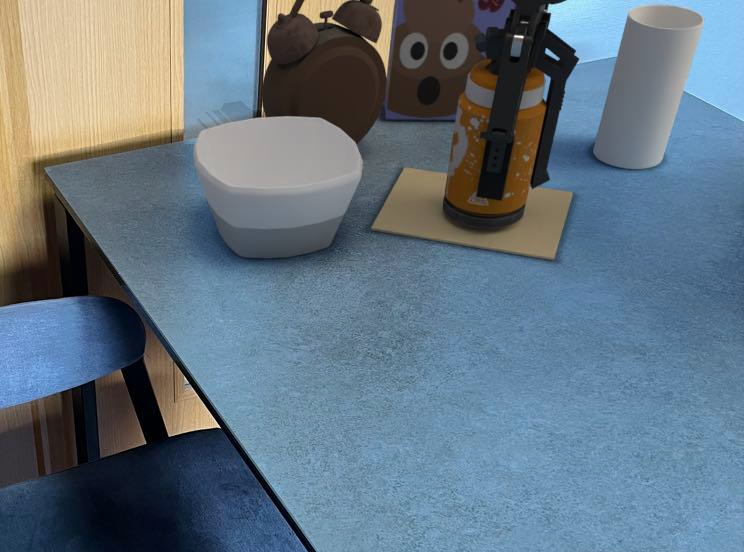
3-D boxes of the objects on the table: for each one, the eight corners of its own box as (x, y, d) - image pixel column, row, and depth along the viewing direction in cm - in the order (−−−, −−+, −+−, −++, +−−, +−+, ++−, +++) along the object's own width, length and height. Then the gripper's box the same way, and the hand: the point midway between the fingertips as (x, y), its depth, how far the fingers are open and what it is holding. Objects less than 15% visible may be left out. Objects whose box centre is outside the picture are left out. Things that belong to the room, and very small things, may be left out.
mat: (572, 194, 120) (573, 192, 120) (553, 260, 110) (554, 258, 109) (404, 169, 126) (404, 167, 125) (370, 230, 115) (370, 227, 115)
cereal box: (385, 120, 136) (408, -87, 119) (383, 106, 139) (404, -98, 122) (519, 121, 135) (561, -87, 118) (514, 107, 138) (554, -98, 121)
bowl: (181, 204, 120) (178, 124, 113) (327, 187, 122) (333, 108, 116) (213, 282, 108) (212, 198, 101) (375, 262, 110) (385, 178, 103)
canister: (439, 195, 120) (466, 11, 106) (536, 198, 119) (577, 12, 105) (443, 233, 114) (473, 42, 100) (546, 236, 113) (590, 44, 99)
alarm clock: (353, 134, 133) (367, -37, 119) (383, 156, 128) (401, -20, 114) (252, 156, 129) (255, -18, 115) (279, 180, 124) (285, 1, 110)
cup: (653, 174, 123) (696, 33, 112) (585, 160, 126) (620, 22, 115) (669, 148, 128) (711, 10, 117) (602, 135, 131) (637, 0, 120)
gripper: (519, -85, 105) (481, 133, 121) (480, -20, 91) (442, 217, 107) (595, -78, 103) (546, 142, 119) (567, -11, 89) (515, 229, 105)
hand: (497, 177), depth 113 cm, fingers closed on canister, 9 cm apart
